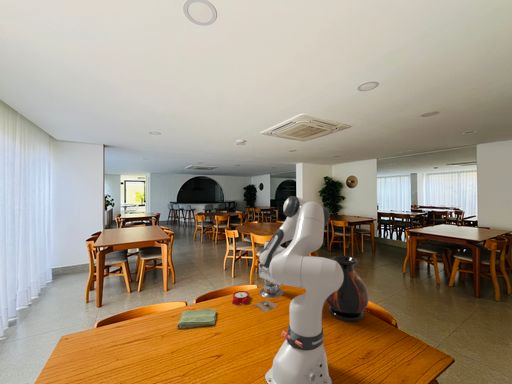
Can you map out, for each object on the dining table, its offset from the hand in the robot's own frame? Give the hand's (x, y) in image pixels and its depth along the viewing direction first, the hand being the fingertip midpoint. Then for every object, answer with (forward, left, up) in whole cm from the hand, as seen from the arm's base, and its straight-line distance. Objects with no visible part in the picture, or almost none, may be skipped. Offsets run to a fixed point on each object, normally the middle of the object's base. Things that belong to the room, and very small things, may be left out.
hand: (271, 288), depth 133 cm
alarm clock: (-21, +4, -4) cm, 21 cm away
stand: (-14, -10, -4) cm, 18 cm away
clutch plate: (0, 0, -1) cm, 1 cm away
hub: (0, 0, -4) cm, 4 cm away
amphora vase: (+12, -42, -4) cm, 44 cm away
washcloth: (-47, +4, -4) cm, 48 cm away
